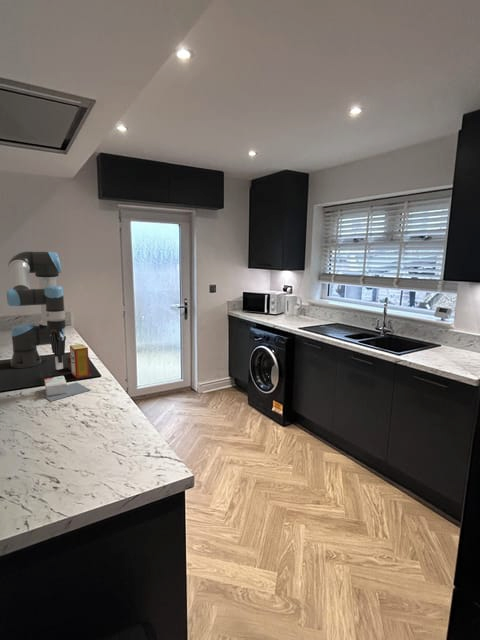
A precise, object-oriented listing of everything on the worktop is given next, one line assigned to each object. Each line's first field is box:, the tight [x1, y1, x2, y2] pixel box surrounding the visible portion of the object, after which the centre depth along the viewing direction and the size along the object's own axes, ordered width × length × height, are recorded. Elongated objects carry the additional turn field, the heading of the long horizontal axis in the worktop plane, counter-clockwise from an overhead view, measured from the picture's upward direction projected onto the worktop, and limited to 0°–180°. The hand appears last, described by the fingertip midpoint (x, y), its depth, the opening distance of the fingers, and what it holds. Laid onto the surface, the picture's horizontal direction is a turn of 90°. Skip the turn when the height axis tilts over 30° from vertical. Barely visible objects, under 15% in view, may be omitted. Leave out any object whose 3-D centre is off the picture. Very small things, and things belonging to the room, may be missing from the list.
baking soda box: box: [69, 343, 90, 379], centre depth 188 cm, size 10×6×16 cm
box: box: [67, 356, 71, 371], centre depth 198 cm, size 6×6×7 cm
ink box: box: [44, 375, 68, 396], centre depth 165 cm, size 9×5×12 cm
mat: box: [38, 382, 91, 402], centre depth 166 cm, size 14×18×1 cm
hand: (59, 368), depth 166 cm, fingers closed
